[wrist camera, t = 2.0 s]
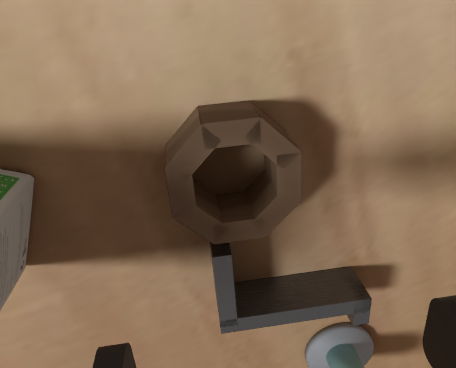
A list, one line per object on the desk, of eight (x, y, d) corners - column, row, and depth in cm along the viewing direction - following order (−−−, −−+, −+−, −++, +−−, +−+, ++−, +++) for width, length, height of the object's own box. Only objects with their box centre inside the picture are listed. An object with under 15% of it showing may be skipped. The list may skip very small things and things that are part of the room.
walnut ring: (160, 110, 19) (157, 128, 17) (285, 96, 20) (302, 112, 17) (177, 218, 22) (177, 249, 20) (286, 204, 23) (301, 232, 20)
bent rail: (208, 226, 23) (212, 257, 20) (355, 207, 23) (379, 234, 21) (217, 309, 26) (222, 345, 23) (348, 289, 26) (368, 323, 24)
